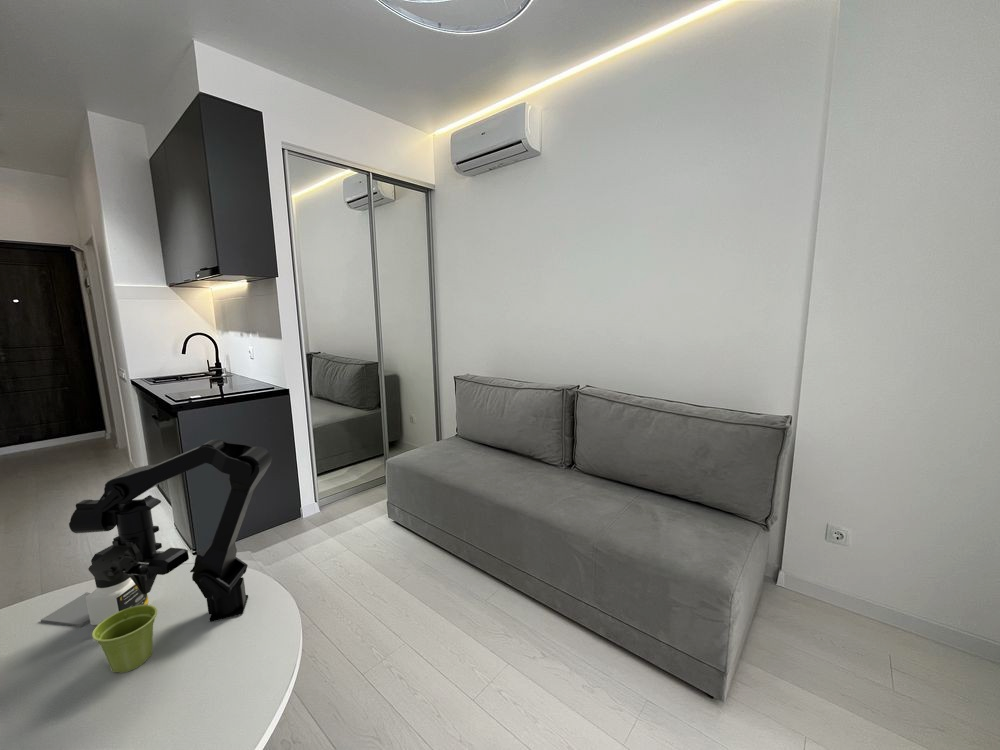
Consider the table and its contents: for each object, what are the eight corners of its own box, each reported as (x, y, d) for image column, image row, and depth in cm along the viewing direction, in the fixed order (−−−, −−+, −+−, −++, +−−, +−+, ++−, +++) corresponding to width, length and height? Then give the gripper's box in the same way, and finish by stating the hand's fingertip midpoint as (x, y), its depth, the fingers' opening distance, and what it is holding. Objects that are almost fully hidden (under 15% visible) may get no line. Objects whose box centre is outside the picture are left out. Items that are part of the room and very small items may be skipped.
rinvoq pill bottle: (122, 625, 90) (112, 576, 88) (90, 625, 90) (80, 576, 89) (149, 602, 97) (141, 556, 95) (120, 603, 97) (111, 556, 96)
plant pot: (160, 634, 88) (154, 597, 86) (166, 660, 81) (159, 621, 80) (99, 660, 81) (92, 621, 80) (100, 691, 75) (92, 649, 73)
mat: (124, 598, 99) (124, 596, 99) (82, 626, 90) (81, 624, 90) (86, 594, 101) (86, 592, 101) (41, 621, 92) (40, 619, 92)
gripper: (55, 545, 83) (69, 615, 85) (134, 552, 80) (146, 624, 82) (114, 518, 94) (125, 580, 96) (186, 523, 91) (195, 587, 93)
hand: (146, 592), depth 92 cm, fingers closed
